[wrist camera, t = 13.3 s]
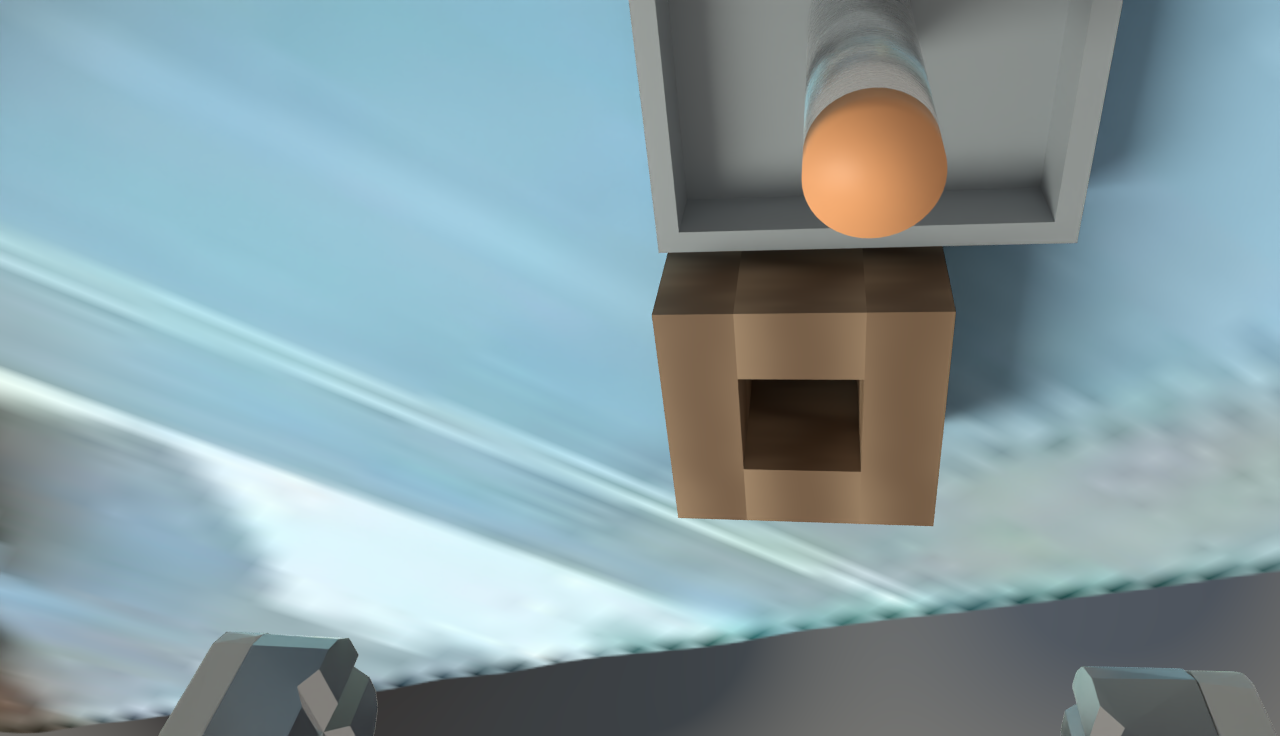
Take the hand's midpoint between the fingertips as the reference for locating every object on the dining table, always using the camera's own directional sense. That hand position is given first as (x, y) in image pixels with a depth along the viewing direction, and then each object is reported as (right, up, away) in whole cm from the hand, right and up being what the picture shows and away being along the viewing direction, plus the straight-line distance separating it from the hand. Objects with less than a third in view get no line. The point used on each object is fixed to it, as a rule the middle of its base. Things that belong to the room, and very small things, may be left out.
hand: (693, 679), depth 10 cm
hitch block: (+6, +5, +28) cm, 29 cm away
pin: (+6, +15, +19) cm, 25 cm away
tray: (+7, +15, +20) cm, 26 cm away
